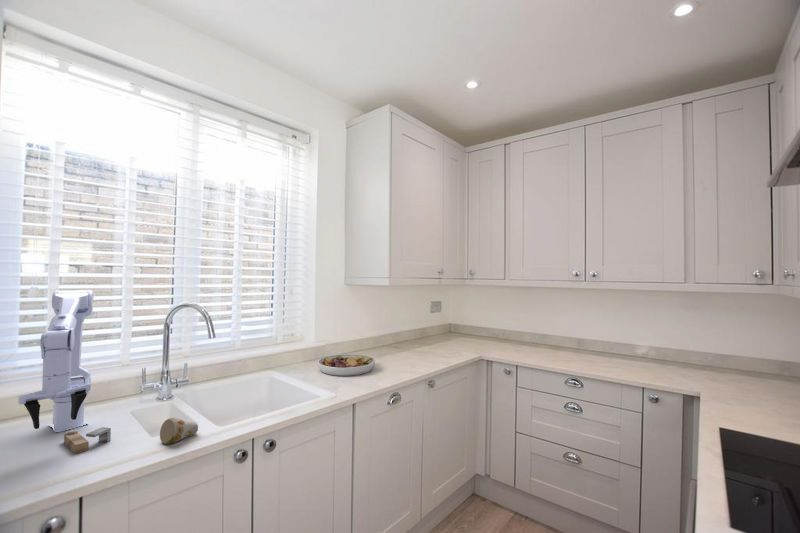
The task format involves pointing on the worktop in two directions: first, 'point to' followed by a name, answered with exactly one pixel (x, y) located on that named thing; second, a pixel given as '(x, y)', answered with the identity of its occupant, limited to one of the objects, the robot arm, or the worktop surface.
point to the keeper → (101, 434)
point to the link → (75, 441)
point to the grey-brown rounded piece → (176, 430)
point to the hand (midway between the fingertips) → (55, 423)
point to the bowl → (346, 364)
